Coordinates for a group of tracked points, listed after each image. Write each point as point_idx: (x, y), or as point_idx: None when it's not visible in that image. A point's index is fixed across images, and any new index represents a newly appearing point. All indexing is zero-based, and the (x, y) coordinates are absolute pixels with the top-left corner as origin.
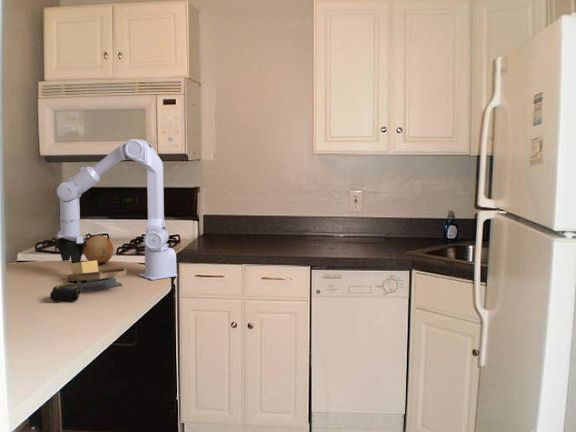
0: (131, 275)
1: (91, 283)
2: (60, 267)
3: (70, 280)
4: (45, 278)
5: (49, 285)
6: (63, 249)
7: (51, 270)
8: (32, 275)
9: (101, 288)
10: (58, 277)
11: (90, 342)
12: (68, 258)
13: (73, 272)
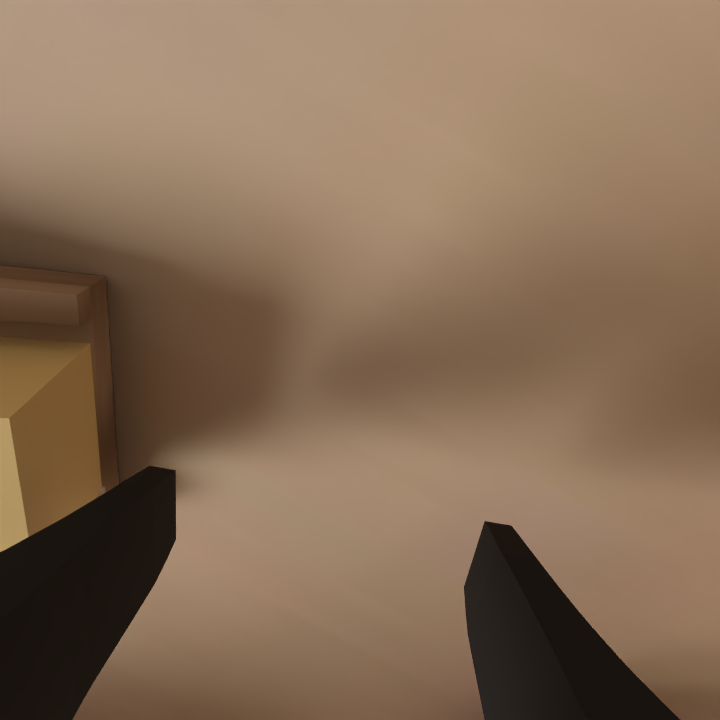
0: None
1: None
2: (709, 539)
3: (25, 269)
4: (392, 171)
5: (28, 10)
6: (542, 710)
7: (680, 421)
8: (663, 136)
9: None
10: (332, 301)
11: None
12: (472, 600)
13: (33, 358)
